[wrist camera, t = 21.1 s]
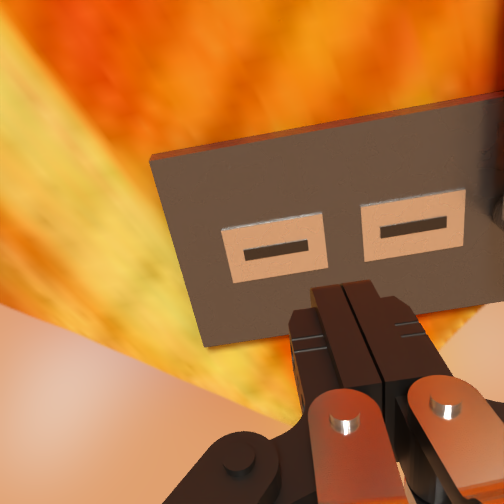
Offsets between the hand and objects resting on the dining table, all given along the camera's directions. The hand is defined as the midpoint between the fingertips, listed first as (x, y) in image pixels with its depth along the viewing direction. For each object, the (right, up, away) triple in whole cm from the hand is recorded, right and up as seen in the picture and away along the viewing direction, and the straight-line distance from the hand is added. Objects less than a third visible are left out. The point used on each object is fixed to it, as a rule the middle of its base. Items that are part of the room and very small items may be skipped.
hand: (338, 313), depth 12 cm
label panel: (+6, +4, +28) cm, 28 cm away
